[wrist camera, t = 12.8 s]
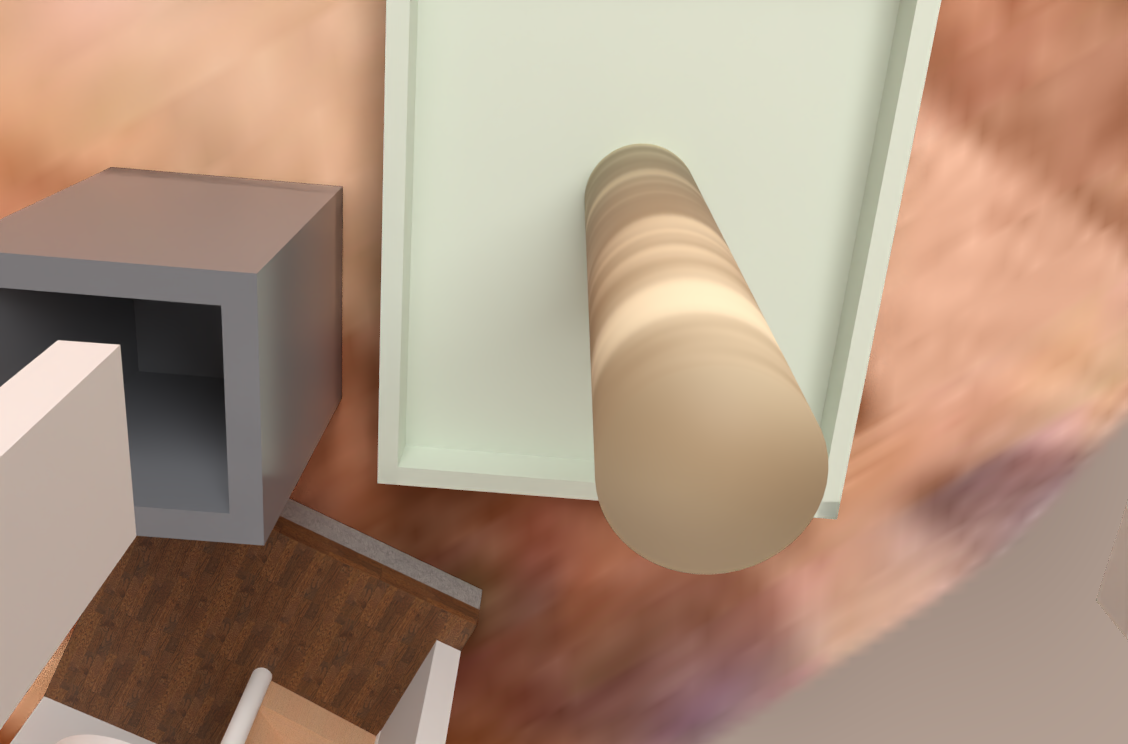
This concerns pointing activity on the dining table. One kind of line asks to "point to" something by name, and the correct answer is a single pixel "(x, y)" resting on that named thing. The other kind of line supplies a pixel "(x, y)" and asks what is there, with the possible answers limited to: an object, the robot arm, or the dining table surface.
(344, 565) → the white coffee maker
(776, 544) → the dowel
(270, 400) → the pen cup
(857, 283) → the tray
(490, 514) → the dining table surface
